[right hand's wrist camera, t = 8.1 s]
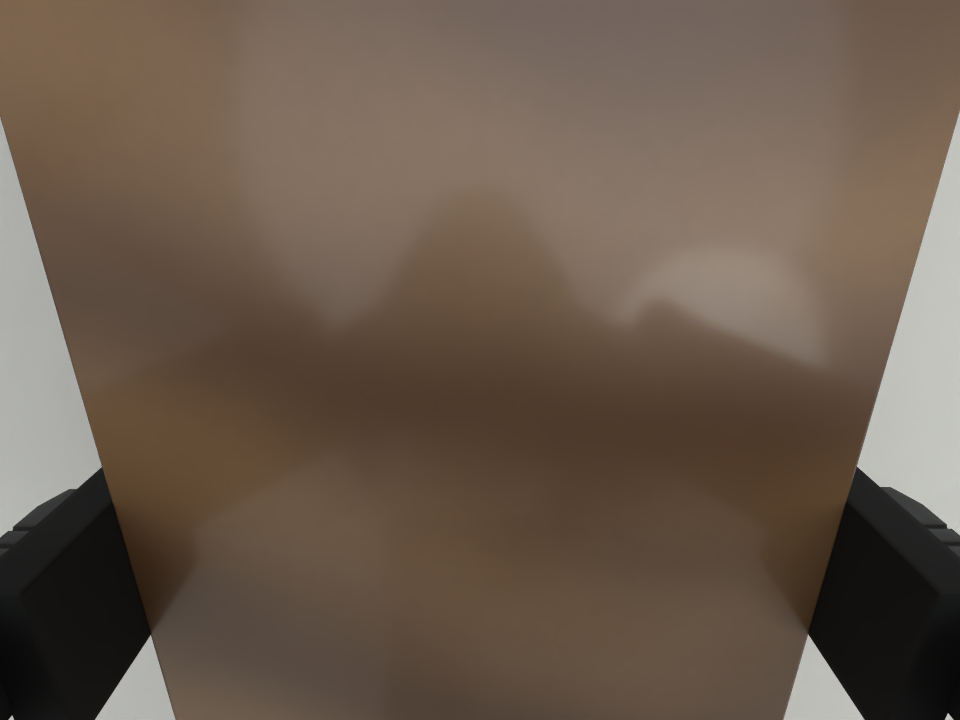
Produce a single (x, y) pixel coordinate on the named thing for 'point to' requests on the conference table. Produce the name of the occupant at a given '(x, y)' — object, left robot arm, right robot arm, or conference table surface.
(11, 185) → the conference table surface
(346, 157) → the wooden grain block
